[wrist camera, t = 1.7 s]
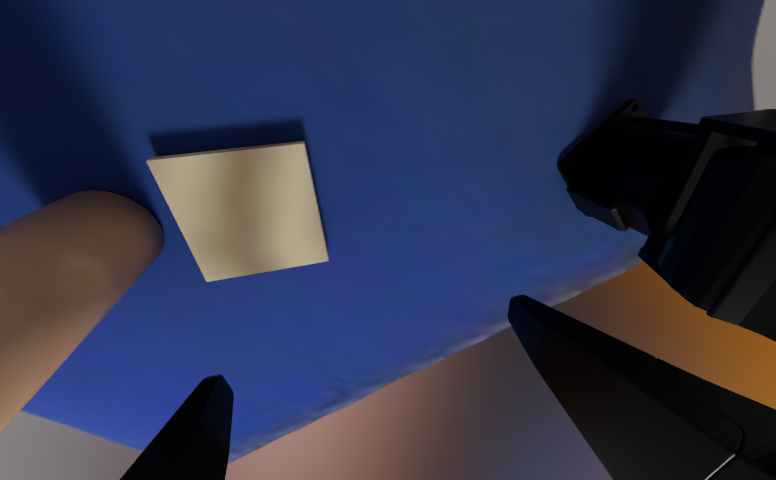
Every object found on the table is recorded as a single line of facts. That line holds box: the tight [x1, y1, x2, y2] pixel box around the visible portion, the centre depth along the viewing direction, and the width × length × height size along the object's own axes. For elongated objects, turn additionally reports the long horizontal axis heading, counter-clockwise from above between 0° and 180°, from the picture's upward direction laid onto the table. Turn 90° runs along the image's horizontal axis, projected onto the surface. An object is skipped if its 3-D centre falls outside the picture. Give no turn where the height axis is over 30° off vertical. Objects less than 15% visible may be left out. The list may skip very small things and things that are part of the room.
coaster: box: [146, 141, 329, 282], centre depth 18 cm, size 8×8×1 cm
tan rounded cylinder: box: [0, 190, 164, 433], centre depth 11 cm, size 5×5×13 cm
